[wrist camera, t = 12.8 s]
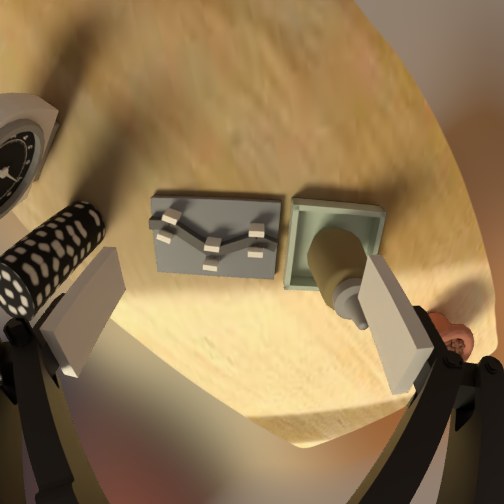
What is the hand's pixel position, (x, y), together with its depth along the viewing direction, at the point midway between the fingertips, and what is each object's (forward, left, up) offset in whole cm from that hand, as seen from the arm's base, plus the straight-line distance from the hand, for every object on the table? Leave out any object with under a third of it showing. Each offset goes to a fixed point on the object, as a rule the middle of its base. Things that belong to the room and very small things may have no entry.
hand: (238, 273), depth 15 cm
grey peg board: (+11, -5, -27) cm, 29 cm away
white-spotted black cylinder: (+10, -27, -27) cm, 40 cm away
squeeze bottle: (+11, +12, -27) cm, 31 cm away
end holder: (+11, +12, -27) cm, 31 cm away
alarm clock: (-4, -35, -27) cm, 45 cm away
